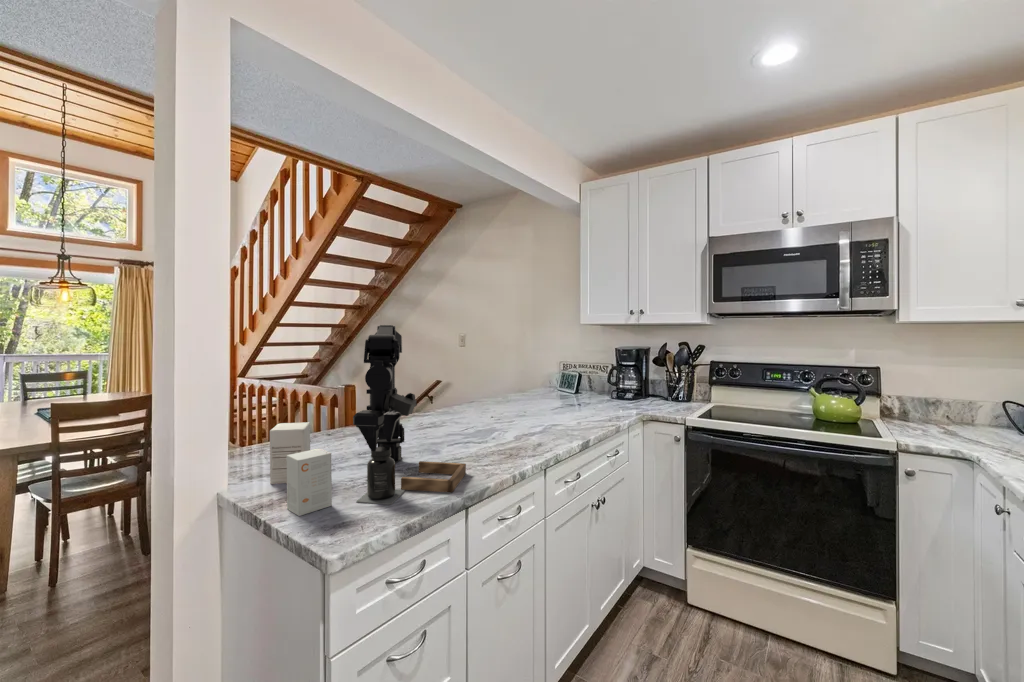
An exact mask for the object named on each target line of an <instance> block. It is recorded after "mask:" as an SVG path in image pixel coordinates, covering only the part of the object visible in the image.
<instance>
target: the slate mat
mask: <svg viewBox="0 0 1024 682" xmlns="http://www.w3.org/2000/svg"><path fill="white" fill-rule="evenodd" d="M405 492H406V490H402V489H398V488H397V489H396V488H395V494H394V496H393V497H391V498H388V499H384V500H372V499H370V498H369V497H368V495H367V492H366V493H365V494H364V495H362V496H361V497H360V498H359V499H358V500H356V503H358V504H359V503H361V504H372V505H373V504H374V505H375V504H376V505H387V506H389V505H390V506H392V505H393V504H394V503H395V502H396V501H397V500H398V499H399V498H400V497H401V496H402V495H403V494H404V493H405Z"/></svg>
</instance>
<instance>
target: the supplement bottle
mask: <svg viewBox="0 0 1024 682" xmlns="http://www.w3.org/2000/svg"><path fill="white" fill-rule="evenodd" d="M370 452H371V453H370V458H371V459H369V460H368V462H367V464H366V473H367V474H366V482H367V483H366V490H367V492H366V493H367V495H368V497H369V498H370V499H372V500H384V499H388V498H391V497H393V496H394V494H395V489H396V464H395V461H394V459H392V458H391V457H390V456H391V448H390V447H378V446H377V447H376V451H371V450H370Z"/></svg>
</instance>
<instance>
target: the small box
mask: <svg viewBox="0 0 1024 682" xmlns="http://www.w3.org/2000/svg"><path fill="white" fill-rule="evenodd" d="M332 474H333V473H332V453H331V452H330V451H328V450H324V449H322V448H315V449H310V450H309V451H304V452H300V453H295V454H290V455H287V483H286V501H287V502H286V503H287V504H286V505H287V506H286V507H287V510H288V511H290V512H292V513H293V514H295V515H296V516H298V517H301V516H304V515H307V514H310V513H313V512H317V511H319V510H323V509H325V508H328V507H332V503H333V499H332V498H333V496H332V495H333V494H332V493H333V492H332V489H333V488H332V486H333V485H332V484H333V483H332V482H333V481H332Z"/></svg>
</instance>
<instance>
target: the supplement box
mask: <svg viewBox="0 0 1024 682" xmlns="http://www.w3.org/2000/svg"><path fill="white" fill-rule="evenodd" d="M309 450H311V422H309V421H308V422H306V421H305V422H281V423H277V424H276V425H275V426H274V427H273V428H271V429H270V430H269V471H270V472H269V478H270V479H269V483H270V485H276V484H277V485H280V484H287V455H290V454H295V453H300V452H304V451H309Z"/></svg>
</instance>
